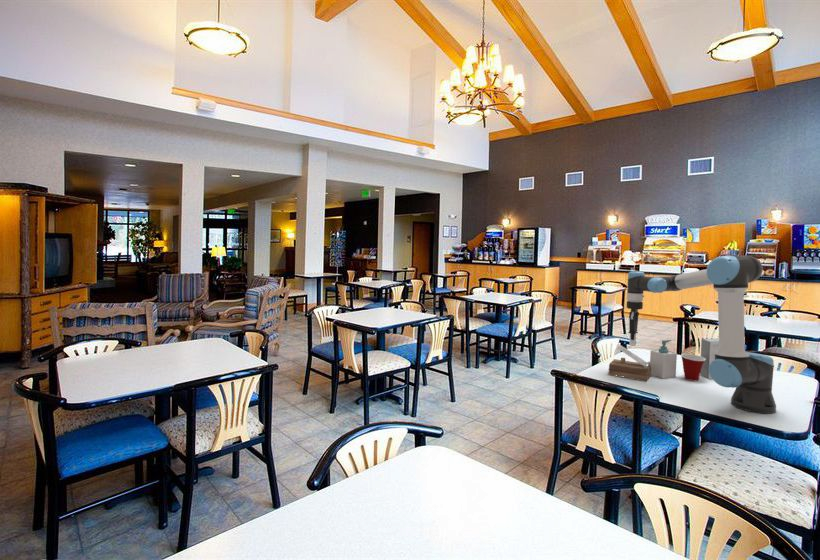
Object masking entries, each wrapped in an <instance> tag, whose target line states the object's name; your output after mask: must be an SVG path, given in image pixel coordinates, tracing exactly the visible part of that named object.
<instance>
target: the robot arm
mask: <svg viewBox="0 0 820 560" xmlns="http://www.w3.org/2000/svg"><path fill="white" fill-rule="evenodd" d="M763 269H764V268H763V264H762V262H760V260H759V259H757V258H756V257H754V256H751V255H747V254H746V255H722V256H721V255H720V256H716V257H715V258H713V259H712V260H711V261H710V262H709V263H708V265H707V268H706V269H701V270H696V271H691V272H690V271H689V272H686V273H682V274H676V275H669V276H668V275H667V276H646V275H645V272H643V271H632V270H631V271H629V272H628V274H627V275H628V276H627V288H626V289H627V290H626V291H627V292H626V300H627V301H626V309H630V312H629V313H628V314H629V315H628V318H629V319H628V320H629V322H628V323H629V324H628V325H629V327H628V328H629V331H628V334H629V346H630V347H631V346H634V347H636V345H637V334H638V333H639V331H638V323H639V315H640V311H639V310H643V307H644V303H643V300H644V298H645V295H644V292H647V293H649V292H650V293H653V294H654V293H655V294H657V293H658V294H660V293H663V292H679V291H682V290H686V289H693V288H699V287H705V286H711V285H713V286H712V287H713V290H715V291H716V292H717V311H718V314H717V315H718V316H717V317H718V320H717V321H718V339H719V350H718V351H716V352H715V360H713V361H712V363H710V365H709V374H710V376H711V378H712V379H711V380H713V381H714V383H715V384H717V385H719V386H721V387H723V388H732V389H733V388H735V390H734V392H733V393H732V396H731V398H730V404H731V405H732V406H734V407H735V408H738V409H741V410H744V411H747V412H752V413H758V414H773V413H776V411H777V405H776V401H775V398H774V394H773V377H774V367H775V365H774V362H775V361H774V358H773V357H772V356H769V355H767V354H761V353H755V352H749V351H746V347H745V345H746V344H745V343H746V341H745V337H746V336H745V300H744V298H745V295H744V294H745V291H747V290H748V289H749V284H750V283H753V282H755V281H757V280H758V279H759V278H760V277H761V275H762V274H763Z"/></svg>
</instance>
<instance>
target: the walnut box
mask: <svg viewBox="0 0 820 560" xmlns="http://www.w3.org/2000/svg"><path fill="white" fill-rule="evenodd" d="M646 362H647V363H649V366H643V365H642V364H640V363H639V362H637V361H629V360H626V357H621V358H620V359H618V358H617V359H615V358H614V359H612V361H610V362H609V364H608V375H609V374H610V375H609V376H612V375H617V376H616V377H618V376H624V377H629V378H628V379H630V378H634V379H633V380H636V379H639V380H638V381H642V380H643V381H644V382H648V380H649V379H650V377H651V376H652V375H651V363H650V361H646ZM624 377H623V378H624Z"/></svg>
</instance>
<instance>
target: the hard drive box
mask: <svg viewBox="0 0 820 560" xmlns="http://www.w3.org/2000/svg"><path fill="white" fill-rule="evenodd" d="M718 350H719V338H701V339H700V356H701V357H703V358H705V359H706V360H705V361H704V363H703V365H702V368H701V372H700V375H699V376H701V375H702V377H703V376H704V378H705V379H707V380H713V379H712V378H711V376H710V374H709V365H710V363H712V361H713V360H715V352H716V351H718Z"/></svg>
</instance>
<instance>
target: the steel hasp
mask: <svg viewBox="0 0 820 560" xmlns="http://www.w3.org/2000/svg"><path fill="white" fill-rule="evenodd" d="M617 349H618V350H619V351H621V352H622V353H624V354H625V355H626V356H628V357H630V358H631V359H632V360H634V361H635V362H637V363H640V364H642V365H643V366H649V363H647V362H648V361H645V360H644V359H642V358H641V357H639V356H638V355H636V354H635V353H634V352H632V351H630V350H628V348H626V347H625V346H623V345H621V344H620V345H618V346H617Z"/></svg>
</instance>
